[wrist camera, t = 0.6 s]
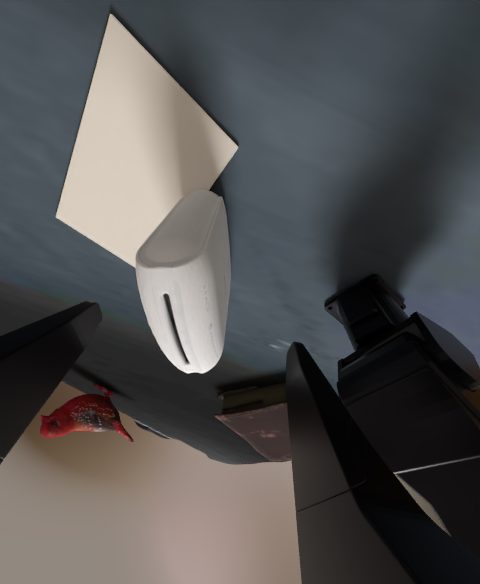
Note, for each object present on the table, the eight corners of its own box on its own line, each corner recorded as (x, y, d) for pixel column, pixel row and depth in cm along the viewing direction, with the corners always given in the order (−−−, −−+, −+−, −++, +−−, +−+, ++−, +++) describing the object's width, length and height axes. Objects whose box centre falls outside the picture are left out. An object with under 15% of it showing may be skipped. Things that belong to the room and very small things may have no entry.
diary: (305, 370, 35) (312, 400, 31) (341, 427, 47) (349, 454, 43) (214, 392, 41) (209, 419, 37) (267, 437, 53) (268, 462, 49)
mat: (238, 147, 16) (238, 147, 16) (150, 274, 24) (148, 276, 24) (114, 16, 13) (110, 13, 12) (58, 215, 21) (55, 217, 20)
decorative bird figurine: (79, 369, 38) (32, 429, 30) (150, 409, 47) (128, 464, 39) (71, 372, 39) (24, 432, 32) (142, 411, 48) (119, 466, 40)
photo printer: (233, 284, 24) (223, 390, 14) (197, 284, 24) (163, 389, 15) (227, 187, 18) (203, 265, 8) (178, 189, 18) (95, 266, 8)
